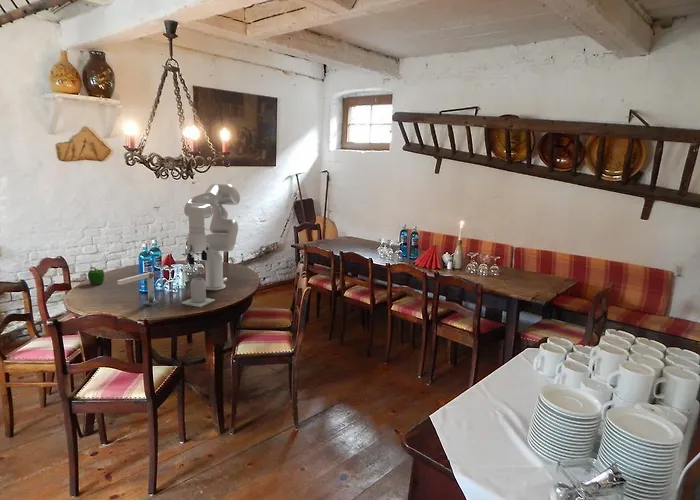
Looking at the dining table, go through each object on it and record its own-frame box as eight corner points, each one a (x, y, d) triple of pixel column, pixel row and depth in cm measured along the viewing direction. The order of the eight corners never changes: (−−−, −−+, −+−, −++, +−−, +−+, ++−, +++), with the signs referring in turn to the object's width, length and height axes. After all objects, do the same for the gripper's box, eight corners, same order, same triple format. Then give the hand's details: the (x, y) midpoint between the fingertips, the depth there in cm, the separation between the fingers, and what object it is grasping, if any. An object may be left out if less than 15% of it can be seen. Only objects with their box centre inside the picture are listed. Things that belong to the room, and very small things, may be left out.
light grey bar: (150, 274, 232) (150, 271, 231) (155, 276, 230) (155, 272, 230) (116, 284, 214) (115, 280, 214) (121, 285, 213) (121, 281, 212)
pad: (196, 297, 245) (196, 296, 245) (215, 300, 241) (215, 299, 241) (181, 303, 234) (181, 302, 234) (200, 307, 230) (200, 306, 230)
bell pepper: (108, 282, 264) (107, 265, 262) (99, 286, 256) (98, 269, 254) (94, 281, 264) (93, 264, 262) (85, 285, 256) (84, 268, 254)
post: (151, 301, 236) (150, 275, 233) (159, 302, 234) (157, 276, 231) (144, 304, 231) (142, 277, 228) (151, 305, 229) (150, 279, 226)
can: (207, 298, 242) (207, 277, 239) (203, 303, 234) (203, 281, 232) (193, 298, 241) (192, 276, 239) (189, 303, 234) (188, 280, 231)
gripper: (202, 226, 239) (203, 257, 243) (179, 232, 223) (180, 265, 227) (213, 228, 236) (214, 259, 241) (191, 233, 221) (192, 267, 225)
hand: (198, 262), depth 234 cm, fingers open, 9 cm apart
